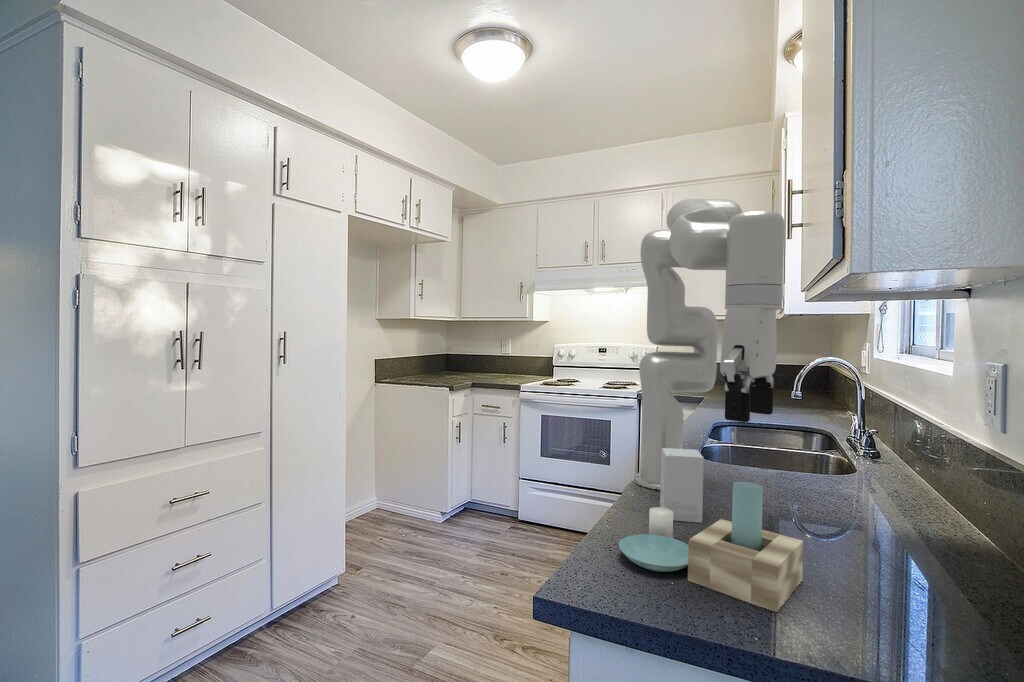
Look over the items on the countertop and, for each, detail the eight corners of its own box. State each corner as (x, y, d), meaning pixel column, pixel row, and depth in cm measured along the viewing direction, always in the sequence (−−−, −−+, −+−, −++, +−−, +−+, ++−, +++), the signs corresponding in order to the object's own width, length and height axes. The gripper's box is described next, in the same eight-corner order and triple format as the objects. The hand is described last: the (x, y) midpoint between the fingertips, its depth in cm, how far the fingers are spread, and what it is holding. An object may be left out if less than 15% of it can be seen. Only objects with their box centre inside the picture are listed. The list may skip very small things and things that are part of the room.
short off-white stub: (655, 533, 93) (656, 505, 93) (676, 539, 90) (677, 511, 90) (644, 539, 90) (645, 510, 90) (665, 546, 87) (666, 516, 87)
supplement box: (703, 523, 98) (704, 457, 97) (662, 520, 99) (664, 455, 99) (697, 510, 105) (698, 449, 105) (659, 507, 106) (660, 446, 106)
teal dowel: (736, 571, 78) (738, 480, 78) (764, 580, 75) (766, 485, 75) (726, 580, 75) (728, 485, 75) (754, 590, 72) (757, 491, 72)
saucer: (694, 553, 85) (695, 539, 85) (698, 586, 74) (698, 570, 74) (622, 543, 88) (622, 530, 88) (614, 573, 77) (615, 558, 77)
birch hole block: (720, 555, 84) (721, 518, 84) (802, 581, 75) (803, 540, 75) (687, 580, 75) (688, 539, 75) (776, 612, 67) (777, 566, 67)
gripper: (747, 302, 83) (744, 408, 84) (702, 296, 71) (699, 420, 71) (798, 301, 78) (795, 414, 79) (760, 294, 66) (756, 428, 66)
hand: (749, 416), depth 75 cm, fingers open, 9 cm apart
